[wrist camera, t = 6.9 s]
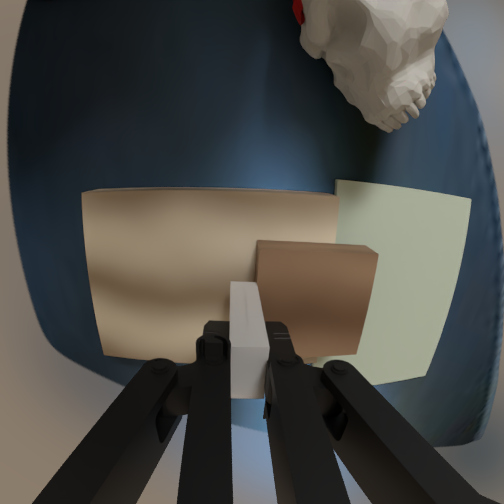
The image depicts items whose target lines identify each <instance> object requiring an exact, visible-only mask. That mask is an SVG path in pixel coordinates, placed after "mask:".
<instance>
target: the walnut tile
mask: <svg viewBox="0 0 504 504" xmlns="http://www.w3.org/2000/svg"><path fill="white" fill-rule="evenodd" d="M378 257H379V254H378V253H376V252H375V251H373V250H372V249H370V248H369V247H367V246H366V245H352V244H334V243H315V242H295V241H274V240H257V247H256V262H255V277H254V282H256V283H257V286H258V291H259V296H260V301H261V306H262V311H263V317H264V321H281V322H282V323H283V324H285V325H286V326H287V328H288V331H289V334H290V337H291V340H292V344H293V347H294V350H295V353H296V354H297V355H299V356H300V357H323V356H342V355H356V354H357V350H358V346H359V343H360V339H361V335H362V331H363V327H364V323H365V319H366V315H367V311H368V307H369V302H370V298H371V293H372V288H373V283H374V278H375V273H376V268H377V262H378Z"/></svg>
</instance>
